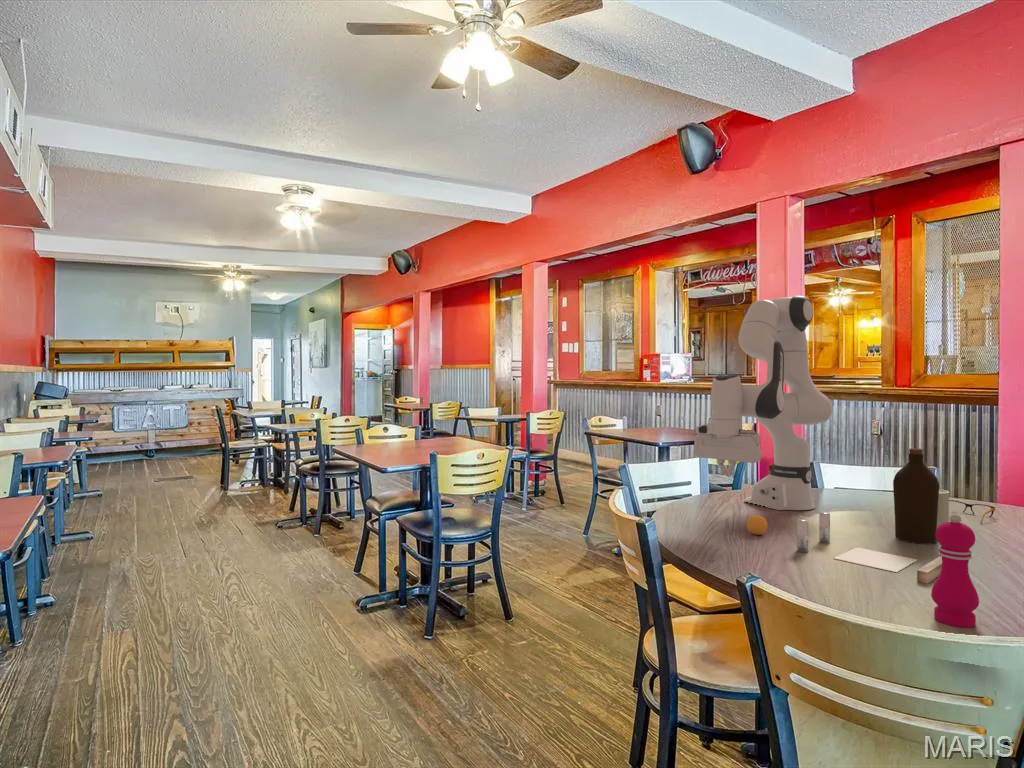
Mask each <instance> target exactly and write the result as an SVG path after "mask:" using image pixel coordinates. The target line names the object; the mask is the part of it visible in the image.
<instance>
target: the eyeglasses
mask: <svg viewBox="0 0 1024 768" xmlns="http://www.w3.org/2000/svg"><path fill="white" fill-rule="evenodd" d="M949 502H956V503H960V504H963V505H965V508H964V510H963V511H962V512H964V513H965V512H966V510H967V509H968V507H969V508H970V511H971V513H972V514H973V515H975V512H974V510H973V506H982V507H989V508H990V509H989V510H987V511H986V512H984V513H983V515H982V517H981V520H980V522H979V525H982V524H983V520H984V517H985V515H987V514H989V513H991V514H990V516H988V518H992V517H993V514H994V512H995V511H996V506H992V505H987V504H983V503H981V504H980V503H973V504H972V503H971V504H970V503H965V502H962V501H960V500H959V501H957V500H951V499H949Z"/></svg>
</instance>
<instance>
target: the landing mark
mask: <svg viewBox="0 0 1024 768" xmlns="http://www.w3.org/2000/svg"><path fill="white" fill-rule="evenodd" d="M833 559H834V560H836V561H842V562H847V563H850V564H856V565H860V566H864V567H869V568H874V569H877V568H878V570H882V569H883V570H882V571H886V570H887V572H891V571H892V573H895V572H896V573H895V574H898V573H899V572H901V571H903V570H905V569H906V568H907V566H908V567H909V565H910V564H911V565H913V564H915V563H917V562H918V561H917V560H918V559H916V558H911V557H906V556H903V555H901V556H900V555H897V554H892V553H886V552H882V551H877V550H872V549H867V548H862V547H855V548H853V549H852V548H851V550H847V551H846V552H844V553H841V554H840V555H837V556H835V557H833ZM916 561H917V562H916ZM914 562H915V563H914ZM912 563H913V564H912ZM911 565H910V566H911ZM905 567H906V568H905ZM902 569H903V570H902ZM900 570H901V571H900Z"/></svg>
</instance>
